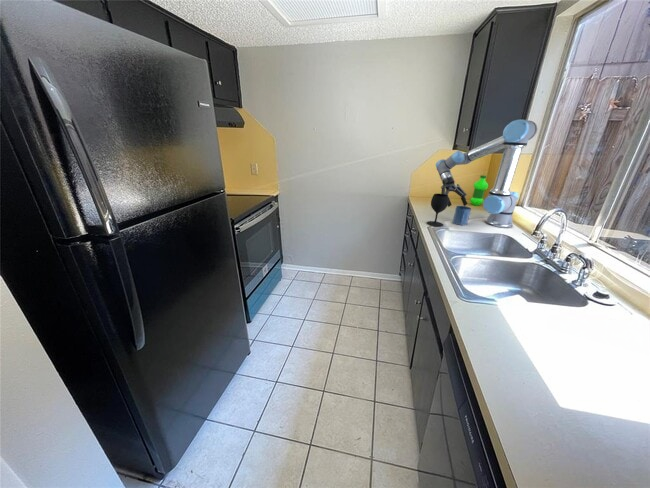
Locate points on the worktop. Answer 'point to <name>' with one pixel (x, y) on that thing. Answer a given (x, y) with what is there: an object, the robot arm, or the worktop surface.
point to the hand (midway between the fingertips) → (458, 205)
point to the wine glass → (438, 207)
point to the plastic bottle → (479, 191)
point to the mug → (461, 215)
